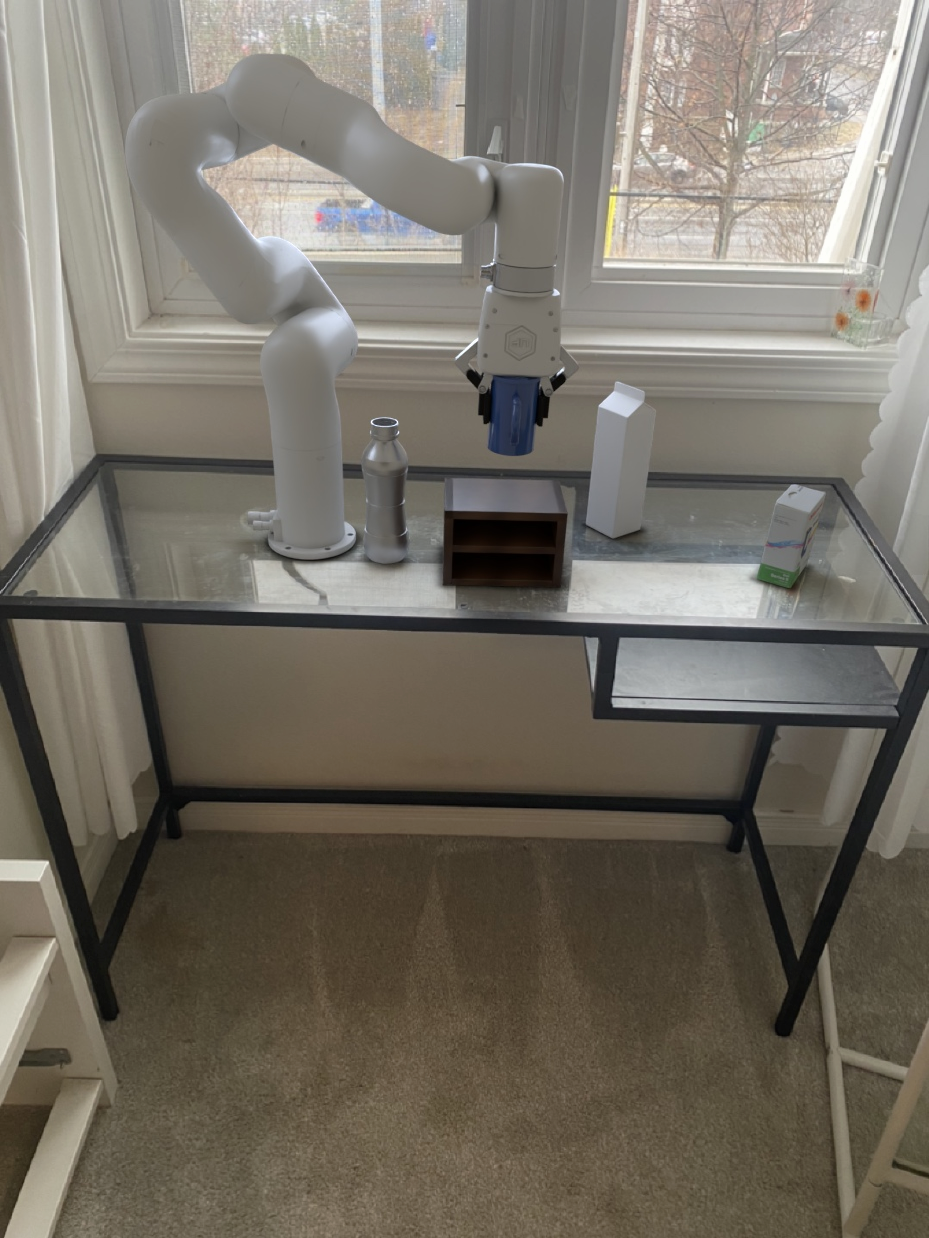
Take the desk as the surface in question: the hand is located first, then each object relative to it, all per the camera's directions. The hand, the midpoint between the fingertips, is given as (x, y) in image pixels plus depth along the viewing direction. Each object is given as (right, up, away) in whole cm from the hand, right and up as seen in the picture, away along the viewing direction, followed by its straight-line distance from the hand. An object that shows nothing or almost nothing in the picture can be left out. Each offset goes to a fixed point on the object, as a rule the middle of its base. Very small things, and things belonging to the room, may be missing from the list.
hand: (512, 420), depth 124 cm
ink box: (+39, -19, +12) cm, 45 cm away
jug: (0, -3, +2) cm, 4 cm away
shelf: (-1, -18, +10) cm, 21 cm away
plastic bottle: (-17, -17, +12) cm, 27 cm away
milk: (+17, -12, +23) cm, 31 cm away
